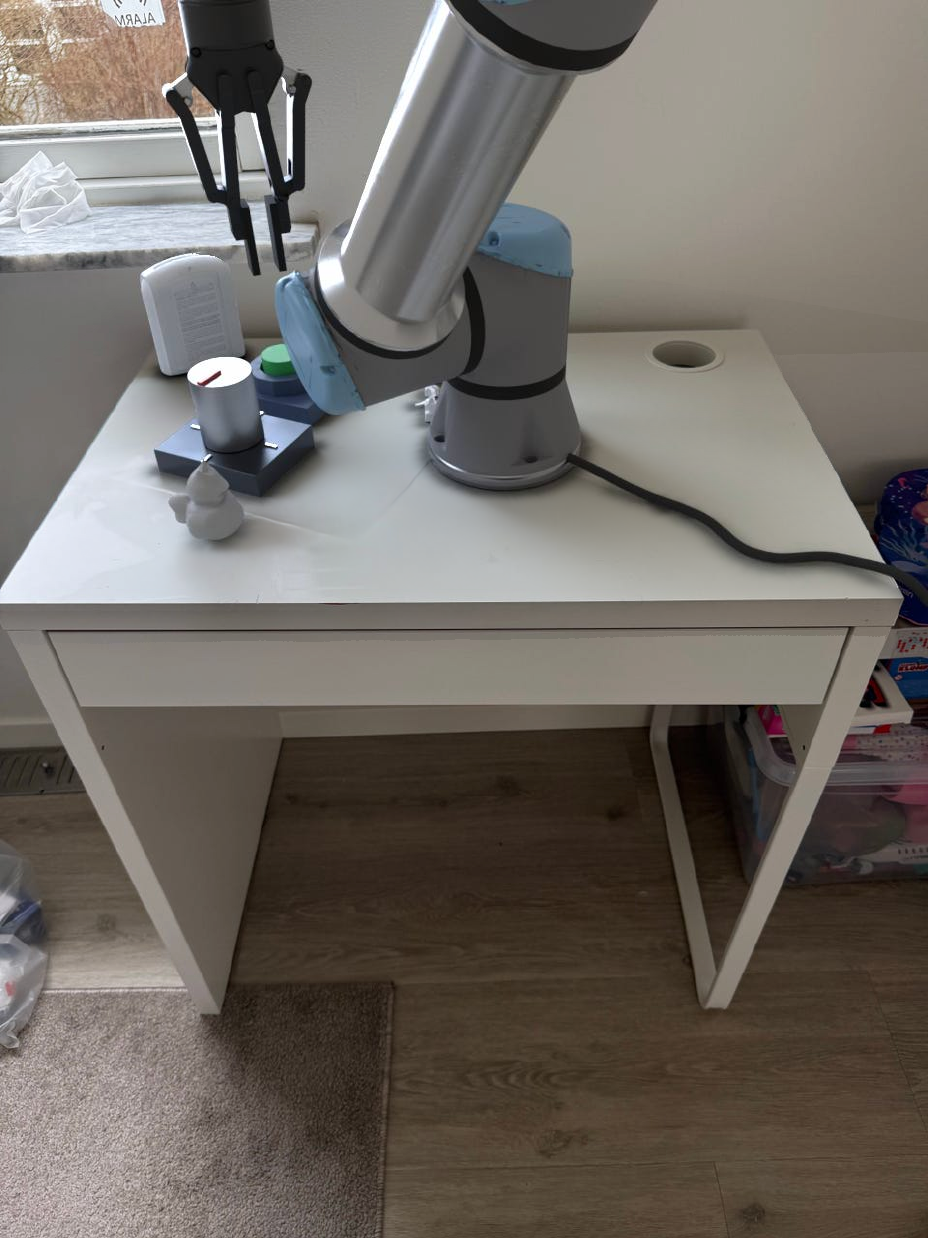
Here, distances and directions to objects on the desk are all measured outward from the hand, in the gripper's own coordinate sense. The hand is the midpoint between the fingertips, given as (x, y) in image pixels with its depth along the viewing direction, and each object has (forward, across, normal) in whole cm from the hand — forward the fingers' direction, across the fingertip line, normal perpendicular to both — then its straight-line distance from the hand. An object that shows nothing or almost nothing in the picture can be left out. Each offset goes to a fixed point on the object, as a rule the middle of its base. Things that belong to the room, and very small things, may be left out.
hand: (267, 267), depth 95 cm
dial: (+12, -7, -10) cm, 17 cm away
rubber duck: (+15, -12, -22) cm, 29 cm away
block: (+14, 0, 0) cm, 14 cm away
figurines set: (+15, +14, -5) cm, 21 cm away
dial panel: (+14, -7, -10) cm, 19 cm away
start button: (+11, 0, 0) cm, 11 cm away
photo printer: (+15, -7, +12) cm, 21 cm away
